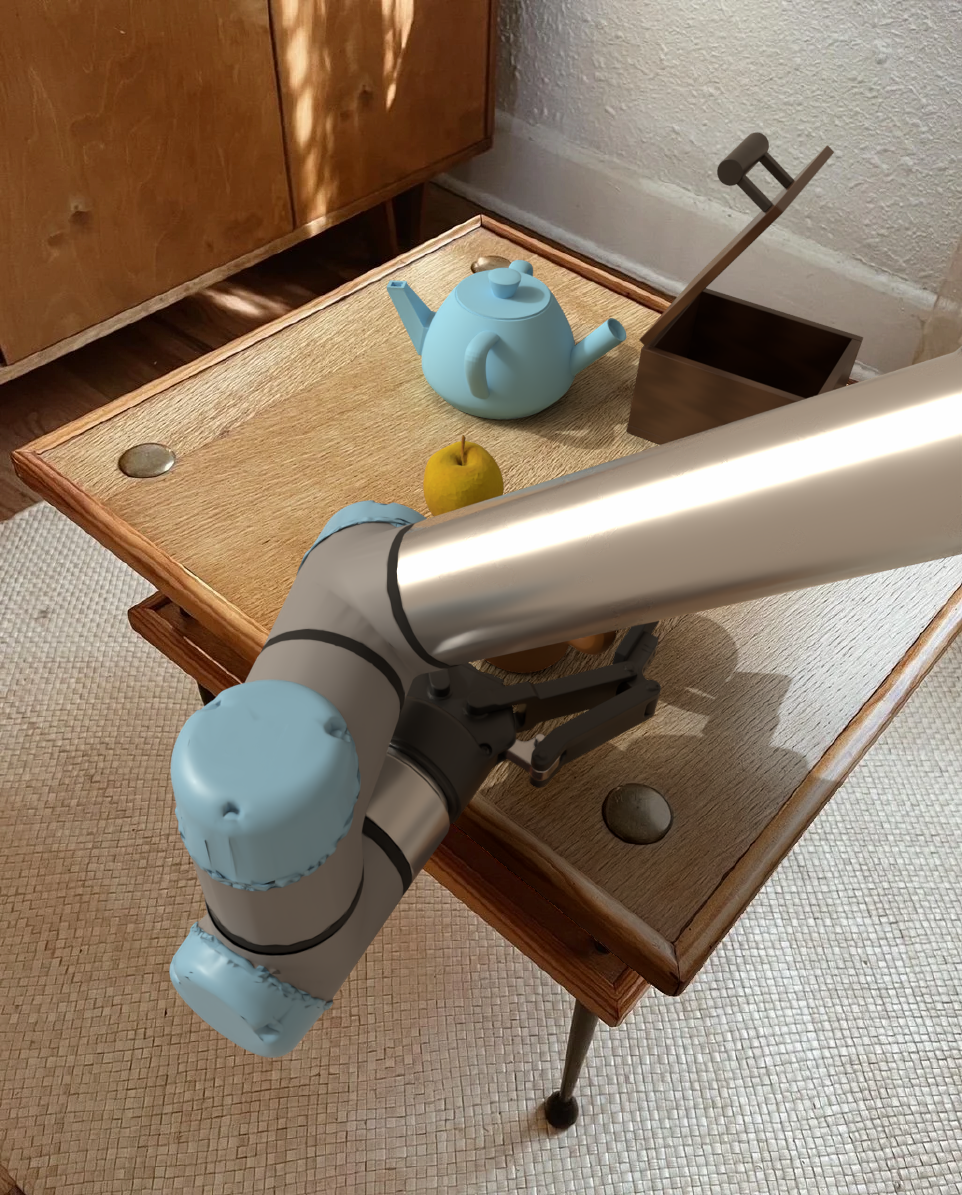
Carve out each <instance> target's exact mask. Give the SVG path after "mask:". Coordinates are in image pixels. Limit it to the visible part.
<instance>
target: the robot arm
mask: <svg viewBox="0 0 962 1195" xmlns="http://www.w3.org/2000/svg"><path fill="white" fill-rule="evenodd" d="M960 555H962V345H960V347H958V349H955V351H953V352H950V353H947V354H942V355H941V356H937V357H933V358H931V359H930V358H929V359H927V360H925V361H921V362H918V363H914V364H911V365H908V366H905V367H902V368H899V369H895V370H893V371H890V372H889V371H888V372H887V373H883V374H881V375H877V376H874V377H871V378H868V379H865V380H862V381H858V382H855V383H852V384H849V385H848V384H847V385H846V386H845V387H842V388H839V389H836V390H833V391H829V392H826V393H823V394H820V395H817V396H814V397H810V398H807V399H804V400H801V401H798V402H795V403H792V404H788V405H785V406H782V407H779V408H776V409H773V410H769V411H766V412H763V413H760V414H757V415H754V416H750V417H747V418H744V419H741V420H738V421H735V422H732V423H728V424H725V425H722V426H719V427H716V428H713V429H709V430H706V431H703V432H700V433H697V434H694V435H690V436H687V437H684V438H681V439H678V440H675V441H672V442H668V443H665V444H662V445H660V444H658V445H655V446H654V447H653V446H652V447H650V448H646V449H644V450H641V451H637V452H634V453H631V454H628V455H625V456H621V457H618V458H615V459H611V460H609V461H608V460H607V461H605V462H602V463H598V464H596V465H593V466H590V467H586V468H583V469H579V470H578V471H574V472H571V473H568V474H565V475H562V476H558V477H555V478H552V479H549V480H545V481H542V482H538V483H536V484H533V485H530V486H527V487H524V488H521V489H517V490H514V491H511V492H507V493H503V495H501V496H498V497H495V498H492V499H488V500H485V501H482V502H479V503H476V504H473V505H469V506H466V507H463V508H460V509H457V510H454V511H450V512H447V513H444V514H441V515H438V516H435V517H434V516H432V517H429V518H427V517H426V516H425V515H423V514H422V513H420V512H419V511H417V510H415V509H413V508H411V507H408V506H407V505H404V504H401V503H397V502H391V503H382V502H376V501H375V500H374V499H373V500H372V499H370V500H362V501H356V502H354V503H351V504H349V505H346V506H344V507H343V508H341V509H339V510H338V511H337V512H336V513H334V514H333V515H332V516H331V517H330V518H329V519H328V521H327V522H326V523H325V525H324V527H323V528H322V529H321V532H320V533H319V535H318V537H317V538H316V539H315V541H314V543H313V544H312V545H311V547H310V548H309V549H308V550H307V551H306V552H305V553H304V555H303V557H302V560H301V562H300V565H299V567H298V569H297V572H296V577H295V578H294V582H293V583H292V585H291V587H290V589H289V592H288V593H287V596H286V598H285V600H284V602H283V604H282V607H281V608H280V610H279V612H278V615H277V617H276V619H275V621H274V623H273V625H272V627H271V630H270V632H269V633H268V636H267V638H266V640H265V641H264V644H263V646H262V648H261V650H260V652H259V655H257V658H256V659H255V661H254V663H253V665H252V667H251V669H250V671H249V673H248V675H247V676H246V679H245V681H244V682H242V683H239V684H236V685H233V686H230V687H228V688H226V689H224V690H222V691H221V692H220V693H218V694H217V696H216V697H215V698H214V699H213V700H211V701H210V702H208V703H207V704H206V705H204V706H203V707H201V708H200V709H196V710H195V712H194V713H192V714H191V715H190V716H189V717H188V719H187V720H186V722H185V723H184V724H183V725H182V728H181V730H180V732H179V733H178V736H177V737H176V739H175V743H174V746H173V749H172V752H171V760H170V782H171V786H172V790H173V795H174V796H173V797H174V800H175V805H176V806H175V809H174V814H175V818H176V820H177V823H178V826H177V827H178V830H177V831H178V832H179V835H180V839H181V840H182V843H183V845H184V847H185V849H186V850H187V853H188V854H189V856H190V859H191V861H192V863H193V864H192V865H193V867H194V869H195V872H196V875H197V879H198V881H199V885H200V887H201V890H202V894H203V897H204V904H205V911H206V914H204V916H203V917H201V919H200V920H198V921H197V920H196V921H195V922H194V923H193V924H192V926H190V929H189V933H188V935H187V936H186V938H185V939H184V940H183V942H182V943H181V945H180V946H179V948H177V951H176V952H175V953H174V954H173V956H172V960H171V962H170V964H169V972H168V973H169V978H170V981H171V984H172V986H173V987H174V989H175V991H176V993H177V994H178V995H179V996H180V998H181V999H182V1000H183V1001H184V1002H185V1004H186V1005H187V1006H188V1007H189V1008H190V1009H191V1010H193V1012H194V1013H195V1014H196V1015H198V1017H199V1018H201V1019H202V1021H203V1022H205V1023H206V1024H207V1025H209V1026H210V1027H211V1028H212V1029H214V1030H215V1031H216V1032H218V1033H219V1034H220V1035H222V1036H223V1037H224V1038H226V1039H227V1040H229V1041H230V1042H232V1043H233V1044H235V1045H236V1046H238V1047H240V1048H242V1049H244V1051H245V1050H246V1051H247V1052H249V1053H252V1054H253V1055H257V1056H260V1057H262V1058H270V1059H271V1058H272V1059H273V1058H274V1059H275V1058H279V1057H283V1056H286V1055H288V1054H289V1053H292V1051H293V1050H295V1048H296V1047H297V1046H298V1045H299V1043H300V1042H301V1041H302V1040H303V1038H304V1037H306V1035H307V1034H308V1032H309V1031H310V1030H311V1029H312V1028H313V1026H314V1025H315V1024H316V1023H317V1022H318V1020H319V1019H320V1018H321V1016H322V1015H323V1014H324V1012H325V1011H328V1010H330V1009H331V1008H332V1006H333V1004H334V1000H333V999H334V998H335V996H336V995H337V993H338V991H339V990H340V989H341V987H342V986H343V985H344V983H345V981H346V980H347V979H348V977H349V976H350V974H351V973H352V971H353V970H354V968H355V967H356V965H357V964H358V962H359V961H360V960H361V959H362V957H363V955H364V954H365V953H366V951H367V950H368V948H369V947H370V946H371V944H372V942H373V941H374V940H375V938H376V937H377V935H378V934H379V932H380V931H381V930H382V928H383V926H384V925H385V924H386V922H387V920H388V919H389V918H390V916H391V915H392V913H393V912H394V910H396V908H397V906H398V905H399V903H400V902H401V900H402V899H403V897H404V896H405V894H406V893H407V892H408V890H409V889H410V887H411V885H412V884H413V883H414V881H415V880H416V879H417V877H418V876H419V874H420V873H421V871H422V870H423V869H424V867H425V865H427V863H428V862H429V860H430V859H431V857H432V856H433V854H434V853H435V852H436V850H437V849H438V848H439V846H440V845H441V843H442V842H443V840H444V839H445V837H446V836H447V835H448V834H449V830H450V826H451V825H452V824H454V823H455V822H457V821H458V819H460V817H461V816H462V814H463V813H464V811H465V810H466V808H467V807H468V805H469V804H470V802H472V799H473V798H474V797H475V796H476V794H477V793H478V791H479V789H480V788H481V787H482V785H483V784H484V783H485V781H486V780H487V778H488V777H489V775H490V773H491V772H492V770H493V769H494V768H495V767H497V766H498V765H500V764H502V763H504V762H506V761H509V762H510V763H512V764H514V765H515V766H517V767H518V768H520V769H521V770H523V771H525V772H526V773H528V782H529V784H530V785H531V786H532V787H534V788H536V789H542V788H545V787H546V786H547V785H548V784H549V783H550V782H551V780H553V778H554V777H555V776H556V775H557V773H558V772H560V771H561V769H562V768H563V766H566V765H567V764H569V763H572V762H573V761H575V760H577V759H579V758H580V757H582V756H583V755H586V754H588V753H589V752H591V751H593V750H595V749H597V748H599V747H600V746H602V745H604V744H607V743H609V741H611V740H613V739H615V738H617V737H619V736H620V735H622V734H625V733H626V732H628V731H630V730H631V729H634V728H635V727H637V726H639V725H641V724H642V723H644V722H646V721H648V720H650V719H652V718H653V717H654V716H655V713H656V711H657V707H658V702H659V698H660V695H661V691H662V686H661V684H660V682H658V681H657V680H654V679H647V677H645V673H646V672H647V671H648V669H649V667H650V665H651V663H652V662H653V661H654V659H655V656H656V652H657V649H658V646H659V637H658V636H656V635H655V634H653V632H654V631H655V629H656V627H657V626H658V625H659V623H660V622H661V621H664V620H670V619H674V618H679V617H683V616H686V615H688V616H689V615H691V614H692V615H693V614H696V613H702V612H706V611H709V610H715V609H718V608H724V607H728V606H732V605H737V604H742V603H746V602H750V601H756V600H760V599H765V598H768V597H774V596H778V595H783V594H787V593H792V592H797V591H801V590H805V589H810V588H814V587H820V586H824V585H828V584H833V583H837V582H843V581H848V580H852V579H855V578H860V577H865V576H869V575H874V574H878V573H882V572H887V571H892V570H896V569H897V570H898V569H900V568H901V569H902V568H905V567H911V566H915V565H920V564H924V563H928V562H933V561H938V560H941V559H942V560H943V559H948V558H951V557H955V556H960ZM628 628H629V629H628ZM624 629H628V631H627V632H626V633H625V635H624V637H623V638H622V640H621V641H620V643H619V644H618V646H617V647H616V649H615V650H614V652H613V657H612V663H611V664H609V665H604V666H600V667H596V668H593V669H588V670H585V671H580V672H577V673H572V674H569V675H565V676H561V677H557V678H553V679H549V680H545V681H542V682H541V681H540V682H537V683H533V682H531V681H529V680H526V681H522V682H521V681H520V682H518V683H513V684H509V685H505V684H504V683H505V679H503V678H502V677H499V676H497V675H495V674H494V673H493V674H492V673H488V672H484V671H481V670H479V669H478V668H477V667H476V666H474V665H473V664H472V662H477V661H483V660H485V659H487V658H492V657H496V656H501V655H505V654H510V653H515V652H519V651H524V650H528V649H533V648H537V647H542V646H546V645H551V644H556V643H560V642H565V641H569V640H574V639H578V638H583V637H587V636H592V635H596V634H601V633H606V632H610V631H615V630H617V631H619V630H624ZM516 706H517V710H516V711H515V712H514V707H516ZM578 713H580V714H578ZM573 714H574V715H575V714H578V715H576V716H575V717H573V718H571V719H569V720H567V721H564V722H563V723H561V724H560V725H558V726H556V727H555V728H553V729H552V730H551V731H549V732H548V733H547V735H545V734H543V733H537V734H536V735H535V736H534V737H532V738H531V739H529V740H525V741H523V740H520V739H519V738H518V734H521V733H525V732H528V731H530V730H532V729H534V728H535V727H536V726H537V725H539V724H540V723H544V722H548V721H552V720H556V719H560V718H563V717H567V716H572V715H573Z"/></svg>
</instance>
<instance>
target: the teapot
mask: <svg viewBox="0 0 962 1195" xmlns="http://www.w3.org/2000/svg"><path fill="white" fill-rule="evenodd" d="M386 292H387V294H388V295H389V297H390V298H389V299H391V302H392V304H393V306H394V308H395V310H396V312H397V314H398V317H399V318H400V321H401V323H402V324H403V327H404V329H405V331H406V333H407V335H408V337H409V339H410V341H411V343H412V345H413V347H414V349H415V351H416V353H417V355H418V356H421V370H422V373H423V376H424V378H425V380H426V382H427V384H428V385H429V386H430V387H431V389H432V390H433V391H434V392H435V393H436V394H437V395H438V396H439V397H440V398H441V399H443V401H445V402H446V403H447V404H449V405H450V406H451V407H453V408H455V409H456V410H458V411H460V412H462V413H465V414H467V415H470V416H474V417H479V418H482V419H489V420H515V419H517V420H518V419H522V418H527V417H530V416H532V415H536V414H538V413H540V412H542V411H544V410H546V409H548V407H551V406H552V405H553V404H554V403H556V402H557V401H559V400H560V399H561V398H562V397H563V396H564V395H566V394H567V392H568V391H569V390H570V388H571V386H572V385H573V382H574V381H575V378H576V376H577V375H578V374H579V373H581V372H582V371H583V370H586V368H588V367H589V366H590V365H592V364H593V363H595V362H596V361H598V360H599V359H601V358H602V357H603V356H605V355H606V354H608V353H609V352H611V351H612V350H613V349H615V348H616V347H618V346H620V344H622V343H623V342H624V341H626V340H627V338H628V337H627V336H628V335H627V331H626V329H625V327H624V325H623V324H622V323H621V322H620V321H619V320H618V319H616V318H613V317H609V318H608V319H607V320H605V321H604V322H603V323H602V324H600V325H599V326H598V327H597V328H595V329H594V330H593V331H592V332H590V333H589V334H588V335H587V336H585V337H584V338H583V339H582V340H580V342H578V343H577V344H576V342H575V337H574V333H573V330H572V327H571V325H570V322H569V320H568V318H567V316H566V314H565V312H564V309H563V307H561V305H560V303H559V301H558V299H557V298H556V296H555V295H554V294H553V292H552V291H551V289H550V288H549V286H548V285H546V283H544V282H543V281H541V280H540V279H539V278H537V277H536V276H534V266H533V265H532V263H530V262H529V261H527V260H524V259H515V260H513V261H512V262H511V263H510V264H509V266H508V267H497V268H494V269H487V270H483V271H477V272H475V273H473V274H470V275H468V276H466V277H464V278H463V279H462V280H461V281H459V282H458V284H456V286H455V287H453V289H452V290H451V291H450V292H449V294H448V295H447V297H446V298H445V299H444V300H443V302H442V303H441V304H440V306H439V308H438V309H437V310H436V311H434V310H431V308H429V307H428V305H427V304H426V303H425V302H424V301H423V299H421V297H420V296H419V295H418V294H417V293H416V292H415V291H414V290H413V288H412V287H411V286H410V285H409V283H408V281H407V280H395V279H394V280H393V279H392V280H391V279H390V280H389V281H388V283H387V285H386Z"/></svg>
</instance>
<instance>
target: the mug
mask: <svg viewBox="0 0 962 1195" xmlns="http://www.w3.org/2000/svg"><path fill="white" fill-rule="evenodd" d="M617 631H618V630H615V631H610V632H606V633H601V634H596V635H592V636H587V637H583V638H578V639H574V640H569V641H565V642H560V643H556V644H551V645H546V646H542V647H537V648H533V649H528V650H524V651H519V652H515V653H510V654H505V655H501V656H496V657H492V658H487V659H484V660H485V661H486V662H487V663H489V664H490V665H492V666H494V667H496V668H498V669H500V670H503V671H505V672H509V673H517V674H527V673H536V672H540V671H544V670H545V669H548V668H550V667H552V666H553V665H555V664H557V663H558V662H559V661H561V659H562V658H563V657H564V656H566V653H567V651H568V650H569V648H570V646H571V647H572V648H573V649H574V650H577V652H579V653H582V654H584V655H588V656H599V655H601V654H604V653H607V652H608V651H609V649H611V647H612V646H613V645H614V643H615V640H616V637H617Z"/></svg>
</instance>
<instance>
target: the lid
mask: <svg viewBox="0 0 962 1195" xmlns="http://www.w3.org/2000/svg"><path fill="white" fill-rule="evenodd" d="M769 148H770V142H769V140H768V138H767V136H766V135H765V134H763V133H762V132H757V131H755V132H752V133H750V134H748V135H747V136H746V137H745V138H743V140H742V141H741V142H740V143H739V144H738V145H737V146H736V147H735V148H734V149H733V150H732V151H731V152H730V153H729V154H728V155H726V157H725V158H724V159H722V160H721V161H720V163H719V164H718V166H717V170H716V175H717V178H718V180H719V181H720V183H721V184H723V185H725V186H729V187H732V186H733V187H734V186H736V185H737V186H738V188H740V189H741V191H742V192H743V193H744V194H745V195H746V196H747V197H748V198H749V199H750V200H751V201H752V202H753V203H754V204H755V206H756V207H758V208H759V209H760V212H759V213H758V214H756V216H755V217H753V218H752V220H750V221H749V223H748V224H747V225H746V226H744V227H743V229H742V230H741V231H739V233H737V235H736V236H735V237H734V238H733V239H732V240H731V241H730V242H728V243H727V244H726V246H724V247H723V249H721V251H719V253H718V254H717V255H715V257H714V258H712V259H711V261H710V262H708V264H706V266H704V268H703V269H702V270H700V271H699V273H697V275H695V277H694V278H693V279H692V280H691V281H690V282H689V283H688V284H687V285H686V287H685V288H684V289H683V290H682V291H681V292H680V293H679V294H678V295H677V296H676V298H675V299H674V300H673V301H672V303H670V304H669V305H668V307H666V309H665V310H664V311H663V312H662V313H661V315H659V317H658V318H657V319H656V320H655V321H654V322H653V323H652V325H650V327H649V328H648V329H647V330H646V331H645V332H644V333H643V335H642V336H641V337H640V338H639V342H640V343H641V344H642V345H643V346H647V345H648V344H649V343H650V342H651V341H652V340H653V339H654V338H655V337H656V336H657V335H658V334H659V333H660V332H661V331H662V330H663V329H664V328H665V327H666V326H667V325H668V324H669V323H670V322H671V321H672V320H673V319H674V318H675V317H676V316H678V315H679V314H680V313H681V312H682V311H683V310H684V309H685V308H686V307H687V306H688V305H689V304H690V303H691V302H692V301H693V300H694V299H695V298H696V297H697V296H698V295H699V294H700V293H701V292H702V291H703V290H704V289H705V288H708V286H710V285H711V284H712V283H713V282H714V281H715V280H716V279H717V278H718V277H719V276H720V275H721V274H722V273H723V272H724V271H725V270H726V269H727V268H728V267H729V266H730V265H731V264H732V263H733V262H734V261H735V260H737V258H738V257H739V256H741V255H742V254H743V252H745V250H747V249H748V248H749V247H750V246H751V245H752V244H753V243H754V242H755V241H756V240H757V239H758V238H759V237H760V236H761V235H762V234H763V233H764V232H765V231H766V230H767V229H768V228H769V227H770V226H771V225H772V224H773V223H774V222H776V220H777V219H779V218H780V217H781V216H782V215H783V213H785V212H786V210H787V209H788V208H789V207H790V206H791V204H792V203H793V202H794V201H795V200H796V198H797V197H798V196H799V195H800V194H801V193H802V191H803V190H804V189H805V188H806V187H807V185H808V184H809V183H810V182H811V181H812V180H813V178H814V177H815V176H816V175H817V173H818V172H819V171H820V170H821V169H822V168H823V167H824V165H825V164H826V163H827V162H828V161H829V160H830V158H831V157H832V156H833V155H834V154H835V151H834V150H833V149H832V147H830V145H826V146H825V147H824V148H823V149H821V150H820V152H819V153H818V154H817V155H815V157H814V158H812V160H810V162H809V163H808V164H807V165H806V166H804V168H803V169H801V170H800V172H799V173H798V174H797V175H795V176H794V178H793V177H792V175H791V174H789V173H788V171H786V170H785V169H784V167H782V166H781V164H780V163H778V161H777V160H776V159H775V158H774V157H773V156H772V155H771V154H770V152H769V150H770V149H769ZM758 163H760V165H762V166H763V167H764V169H766V170H767V171H768V173H769V174H770V175H772V177H774V179H775V180H776V181H777V182H778V183H779V184H780V186H782V187H783V189H782V190H781V191H780V192H778V193H777V195H776V196H775V197H773V199H772V200H770V199H769V197H767V196H766V194H764V192H762V190H761V189H760V188H759V187H758V186H757V185H756V184H755V183H754V182H753V181H752V180H751V179H750V178H749V177H748V176H747V174H749V173H750V172H751V171H752V169H753V168H755V167H756V165H757V164H758Z"/></svg>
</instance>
